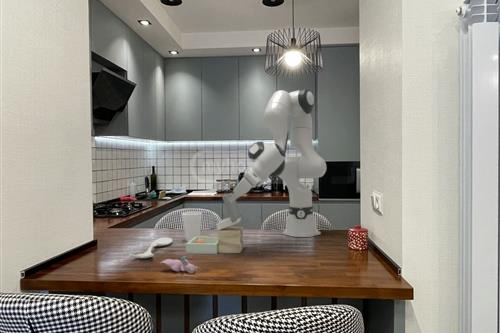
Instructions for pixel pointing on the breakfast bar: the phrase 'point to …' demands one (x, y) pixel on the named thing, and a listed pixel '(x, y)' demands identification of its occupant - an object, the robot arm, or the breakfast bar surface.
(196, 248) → the tray
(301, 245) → the breakfast bar surface
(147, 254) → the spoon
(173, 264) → the rabbit figure
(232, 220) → the lever flap
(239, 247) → the stand
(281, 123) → the robot arm
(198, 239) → the ball
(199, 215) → the foam cup
